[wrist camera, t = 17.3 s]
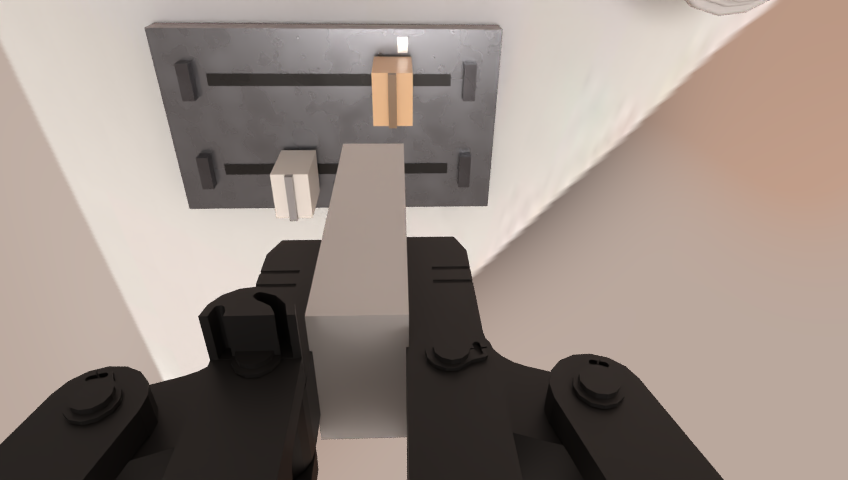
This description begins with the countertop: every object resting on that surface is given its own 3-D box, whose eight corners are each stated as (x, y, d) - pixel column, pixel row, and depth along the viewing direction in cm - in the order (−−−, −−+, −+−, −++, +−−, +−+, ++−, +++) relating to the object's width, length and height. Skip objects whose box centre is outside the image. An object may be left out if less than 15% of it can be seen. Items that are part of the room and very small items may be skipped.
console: (154, 22, 43) (139, 30, 41) (498, 24, 44) (504, 32, 42) (196, 198, 52) (186, 213, 49) (484, 196, 53) (488, 211, 50)
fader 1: (281, 150, 47) (268, 177, 42) (315, 150, 47) (307, 177, 42) (286, 191, 49) (275, 221, 44) (319, 190, 49) (311, 220, 44)
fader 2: (373, 56, 43) (371, 75, 38) (411, 56, 43) (413, 75, 38) (375, 105, 45) (373, 128, 40) (411, 105, 45) (412, 128, 41)
